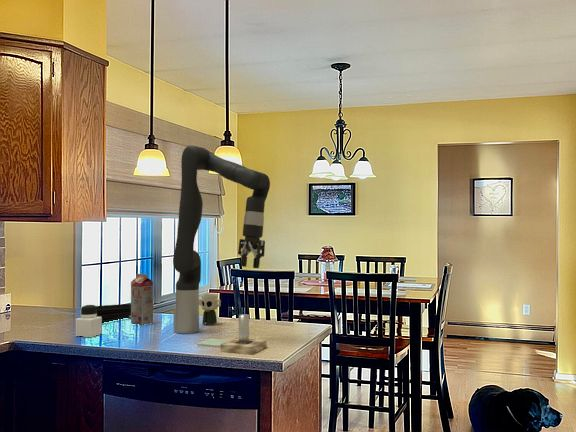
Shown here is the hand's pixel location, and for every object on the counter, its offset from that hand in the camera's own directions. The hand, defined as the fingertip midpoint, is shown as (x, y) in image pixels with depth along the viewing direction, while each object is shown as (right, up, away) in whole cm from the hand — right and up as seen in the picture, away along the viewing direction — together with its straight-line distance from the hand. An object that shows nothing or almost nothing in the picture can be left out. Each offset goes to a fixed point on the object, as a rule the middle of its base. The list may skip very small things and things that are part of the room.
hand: (249, 267), depth 217 cm
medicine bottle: (-64, -28, +11) cm, 71 cm away
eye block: (-1, -27, -15) cm, 31 cm away
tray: (-69, -29, +51) cm, 91 cm away
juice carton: (-49, -28, +36) cm, 68 cm away
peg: (-1, -27, -15) cm, 31 cm away
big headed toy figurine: (-20, -28, +35) cm, 49 cm away
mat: (-12, -28, -5) cm, 30 cm away
